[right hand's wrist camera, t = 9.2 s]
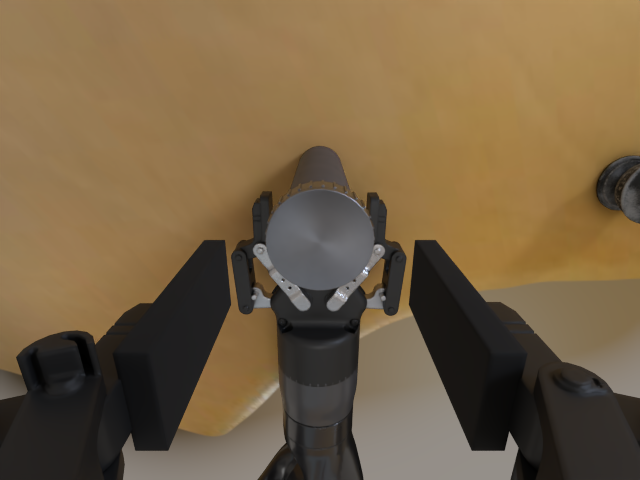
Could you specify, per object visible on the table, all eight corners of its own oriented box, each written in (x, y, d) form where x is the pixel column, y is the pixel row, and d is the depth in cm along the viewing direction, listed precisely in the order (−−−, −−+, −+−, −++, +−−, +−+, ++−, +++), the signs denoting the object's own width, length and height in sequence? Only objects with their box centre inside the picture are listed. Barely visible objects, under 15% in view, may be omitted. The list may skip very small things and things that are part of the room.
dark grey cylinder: (289, 162, 35) (258, 228, 17) (325, 137, 35) (332, 179, 17) (314, 197, 37) (309, 292, 19) (349, 173, 36) (379, 249, 18)
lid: (247, 217, 19) (240, 228, 17) (334, 158, 18) (335, 164, 16) (307, 293, 20) (306, 310, 18) (390, 243, 19) (396, 256, 17)
